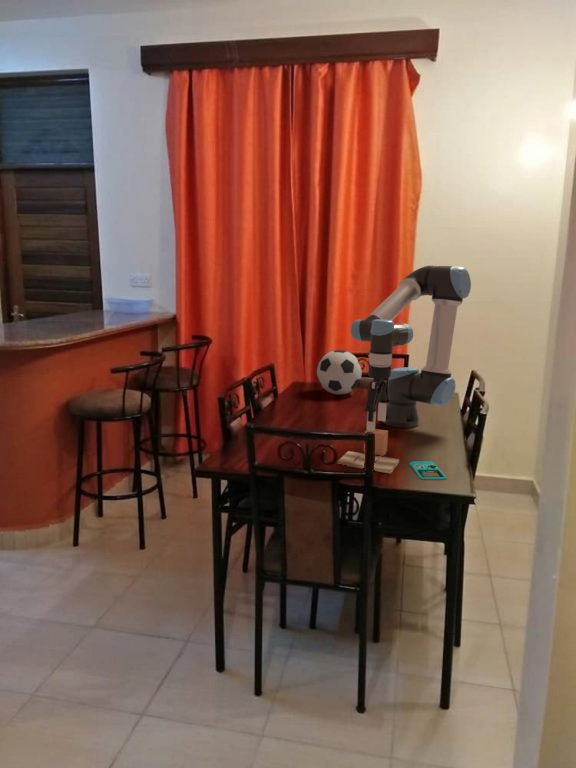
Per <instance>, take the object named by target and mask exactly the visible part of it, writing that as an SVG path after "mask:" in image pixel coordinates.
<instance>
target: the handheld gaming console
mask: <svg viewBox="0 0 576 768" xmlns="http://www.w3.org/2000/svg"><path fill="white" fill-rule="evenodd" d="M409 465H410V467H411V468H412V470H413V471H414V472H415V474H416V476H417V477H418V478H419V479H420V480H424V481H433V480H435V481H437V480H439V481H440V480H442V481H444V480H447V476H446V475H445V474H444V472H443V471H442V470H441V469H440V468H439V467H438V466H437V464H436V463H435V462H434V461H431V460H430V461H425V460H424V461H411V462H410V463H409ZM428 471H435V472H437V473H438V472H439V473H438V474H439V475H440V476H437V475H435V476H432V475H431V476H430V475H429V474H430V473H428V474H427V473H426V472H428ZM423 474H427V476H424V475H423Z"/></svg>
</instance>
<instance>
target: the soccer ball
mask: <svg viewBox="0 0 576 768" xmlns="http://www.w3.org/2000/svg"><path fill="white" fill-rule="evenodd" d="M362 372H363V371H362V366H361V363H360V361H359V360H358V358H357V357H356V356H355V355H354V354H353V353H352V352H349V351H347V350H344V349H343V350H342V349H336V350H332V351H330V352H327V353H326V354H325V355H323V357H322V358H321V359H320V361H319V363H318V365H317V368H316V377H317V380H318V383H319V384H320V386H321V387H322V389H324V390H325V391H326V392H328V393H330V394H332V395H345V394H348V393H351V392H352V391H353V390H354V389H356V388H357V387H358V385H359V384H360V382H361V378H362Z"/></svg>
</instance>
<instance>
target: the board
mask: <svg viewBox="0 0 576 768" xmlns="http://www.w3.org/2000/svg"><path fill="white" fill-rule="evenodd" d="M364 463H365V454H364V452H363V453H362V452H357V451H356V452H355V451H350V450H348V451H347V452H345V454H344V455H342V457H340V458H339V459H338V460H337V465H338V464H342V465H341V466H344V465H347V466H346V467H350V468H356V469H363V468H364ZM399 463H400V459H398V458H394V457H388V456H383V457H382V456H376V455H375V463H374V470H375V472H380V473H385V474H390V475H391V474H392V473H393V471H394V470H395V469H396V468H397V467H398V465H399ZM363 470H364V469H363Z"/></svg>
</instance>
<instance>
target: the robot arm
mask: <svg viewBox="0 0 576 768" xmlns="http://www.w3.org/2000/svg"><path fill="white" fill-rule="evenodd" d="M471 281H472V280H471V277H470V272H469V271H468V270H467V269H466V268H465V267H462V266H455V265H452V266H451V265H425V266H422V267H420V268H418V269H415V270H413V271H412V272H410V273H409V274H407V275H406V276H405V277H403V279H402V280H401V281H400V282H399V285H398V287H397V288H396V289H395V290H394V291H393V292H392V293H391V294H390V295H389V296H388V297H386V299H384V300H383V301H382V302H381V304H379V305H378V306H377V307H376V308H375V309H374V310H373V311H372V312H371V313H370V314H369V315H368V316H366V318H365V319H356V320H354V321H353V322H352V323H351V326H350V334H351V337H352V338H353V339H354V340H356V341H357V340H358V341H360V342H368V343H369V342H370V345H369V347H370V348H369V354H368V355H367V357H368V358H369V359H368V360H369V364H370V365H368V374H367V375H368V376H369V377H370V378H373V381H370V382H369V390H368V396H367V401H366V405H365V408H364V412H367V413H366V414H367V415H366V430H371V431H375V429H376V417H377V422H378V421H379V422H382V423H383V424H384V425H386V426H389V427H394V428H402V429H403V428H404V429H405V428H407V429H410V428H414V427H415V428H416V427H418V426H419V425H420V416H419V411H418V407H417V403H422V404H427V405H431V406H437V407H444V406H446V405H447V404H449V402H451V400H452V398H453V397H454V395H455V392H456V381H455V379H454V378H453V377H452V371H451V370H450V369H449V366H450V365H449V364H450V360H451V359H450V357H451V351H452V345H453V339H454V338H453V337H454V332H455V326H456V318H457V311H458V308H459V307H460V306H461V305H462V304H463V301H464V300H463V299H465V298H468V296H470V295H469V294H470V293H471V287H472V282H471ZM424 296H431V302H432V303H433V304H434V307H433V315H432V322H431V326H430V327H431V328H430V336H429V342H428V350H427V355H426V362H425V365H424V366H423V367H422V368H421V371H420V370H419V368H418V367H416V366H415V367H413V366H409V367H397V368H393V369H392V364H393V363H392V361H393V347H397V346H398V347H399V346H405V345H407V344H409V343H411V342H412V340H413V338H414V331H413V328H412V326H411V325H410V324H408V323H400V322H399V323H395V322H394V320H395V318H397V316H399V315H400V314H401V313H402V312H403V311H404V309H406V307H408V306H409V305H410V304H411V303H412V302H413V301H416V300H418V299H419V298H420V297H424ZM378 401H379V402H378ZM377 405H378V407H377ZM376 408H377V411H378V412H377V411H376ZM376 414H377V415H376ZM366 430H365V431H366Z"/></svg>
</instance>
